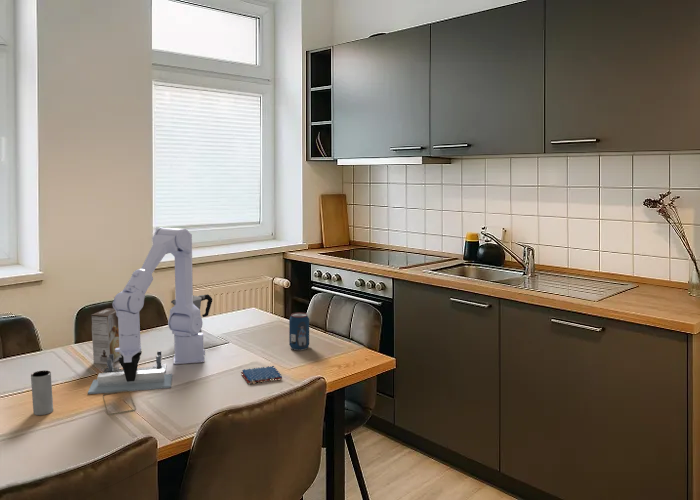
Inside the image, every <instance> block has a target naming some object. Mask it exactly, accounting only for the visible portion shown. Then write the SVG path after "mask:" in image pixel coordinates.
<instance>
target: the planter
mask: <svg viewBox="0 0 700 500" xmlns="http://www.w3.org/2000/svg"><path fill="white" fill-rule="evenodd" d="M30 383H31V396H32V397H31V398H32V410H33V414H34V415H35V416H44V415H45V416H46V415H48V414H51V413H53V411H54V400H53V387H52V386H53V385H52V372H51V371H49V370H39V371H35V372H32V373H31V374H30Z"/></svg>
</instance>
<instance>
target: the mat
mask: <svg viewBox="0 0 700 500" xmlns="http://www.w3.org/2000/svg"><path fill="white" fill-rule="evenodd" d="M172 379H173V373H167V374H166V373H165V382H158V383H145V384H132V385H119V386H106V387H98V378H97V379H93V380H92V383H91V384H90V387H89V389H88V391H87V395H95V394H106V393H113V392H119V391H129V392H135V391H147V390H159V389H171V388H172Z"/></svg>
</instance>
